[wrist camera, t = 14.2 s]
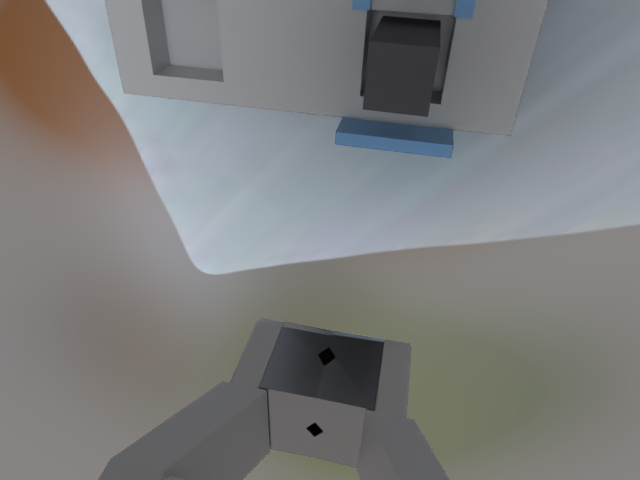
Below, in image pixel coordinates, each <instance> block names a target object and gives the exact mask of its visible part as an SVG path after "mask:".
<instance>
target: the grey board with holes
mask: <svg viewBox="0 0 640 480" xmlns="http://www.w3.org/2000/svg"><path fill="white" fill-rule="evenodd" d="M548 1H549V0H105V4H106V9H107V14H108V19H109V24H110V28H111V33H112V38H113V43H114V48H115V53H116V58H117V63H118V68H119V73H120V77H121V82H122V87H123V92H124V93H125V94H134V95H143V96H152V97H162V98H171V99H180V100H189V101H198V102H207V103H216V104H225V105H234V106H243V107H252V108H261V109H270V110H279V111H288V112H298V113H307V114H316V115H325V116H334V117H343V118H342V120H341V122H340V124H339V126H338V128H337V131H336V137H335V144H337V145H345V146H353V147H362V148H370V149H379V150H387V151H395V152H404V153H412V154H421V155H429V156H437V157H446V158H451V154H452V149H453V130H461V131H470V132H479V133H488V134H497V135H506V136H511V132H512V129H513V125H514V121H515V118H516V114H517V111H518V107H519V104H520V100H521V97H522V93H523V89H524V86H525V82H526V79H527V75H528V72H529V68H530V65H531V61H532V57H533V54H534V50H535V47H536V43H537V40H538V36H539V33H540V29H541V26H542V22H543V18H544V15H545V11H546V8H547V4H548ZM383 16H394V17H405V18H417V19H429V20H441V35H440V52H439V58H438V64H437V69H436V75H435V80H434V86H433V91H432V97H431V103H430V108H429V114H428V117H423V116H415V115H406V114H397V113H388V112H380V111H371V110H363V99H364V89H365V78H366V68H367V58H368V47H369V40H370V39H371V37H372V35H373V33H374V31H375V29H376V28H377V26H378V24H379V22H380V20H381V18H382V17H383Z"/></svg>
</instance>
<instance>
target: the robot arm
mask: <svg viewBox="0 0 640 480" xmlns="http://www.w3.org/2000/svg"><path fill="white" fill-rule="evenodd" d="M410 362H411V345H410V344H408V343H403V342H397V341H391V340H384V339H381V338H375V337H368V336H363V335H357V334H351V333H344V332H339V331H330V330H325V329H320V328H315V327H310V326H305V325H300V324H295V323H290V322H284V321H279V320H273V319H268V318H263V317H261V318H260V319H259V320H258V321H257V322H256V324H255V327H254V329H253V331H252V333H251V336H250V338H249V340H248V342H247V345H246V347H245V349H244V352H243V354H242V356H241V358H240V361H239V363H238V365H237V367H236V370H235V372H234V374H233V376H232V379H231V381H230V382H224V381H222V382H221V383H219V384H218V385H216V386H215V387H213V388H212V389H210V390H209V391H208V392H206V393H205V394H203V395H202V396H200V397H199V398H198V399H196V400H195V401H193V402H192V403H190V404H189V405H187V406H186V407H185V408H183V409H182V410H180V411H179V412H177V413H176V414H175V415H173V416H172V417H170V418H169V419H167V420H166V421H164V422H163V423H162V424H160V425H159V426H157V427H156V428H154V429H153V430H152V431H150V432H149V433H147V434H146V435H144V436H143V437H141V438H140V439H139V440H137V441H136V442H134V443H133V444H131V445H130V446H129V447H127V448H126V449H124V450H123V451H121V452H120V453H119V454H117V455H116V456H114V457H113V458H111V459H110V461H109V462H108V464H107V466H106V467H105V469H104V471H103V472H102V474H101V476H100V477H99V479H98V480H243V478H244V477H246V475H248V474H249V473H250V471H252V470H253V469H254V468H255V467H256V465H258V463H259V462H260V461H261V460H262V459H263V458H264V457H265V456H266V455H267V454H268V453H269V452H270V449H273V450H278V451H283V452H288V453H294V454H299V455H304V456H310V457H315V458H318V459H323V460H327V461H331V462H335V463H339V464H343V465H347V466H351V467H355V468H357V472H358V474H359V477H360V480H449V478H448V476H447V474H446V473H445V471H444V469H443V468H442V466H441V464H440V462H439V461H438V459H437V457H436V455H435V454H434V452H433V450H432V449H431V447H430V445H429V443H428V442H427V440H426V438H425V436H424V435H423V433H422V431H421V430H420V428H419V426H418V424H417V423H416V421H415V420H414V419H409V418H407V406H408V391H409V377H410Z"/></svg>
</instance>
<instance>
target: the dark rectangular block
mask: <svg viewBox="0 0 640 480" xmlns="http://www.w3.org/2000/svg"><path fill="white" fill-rule="evenodd" d="M440 35H441V20H429V19H417V18H405V17H394V16H383V17H382V18H381V20H380V22H379V24H378V26H377V28H376V29H375V31H374V33H373V35H372V37H371V39H370V40H369V47H368V58H367V68H366V78H365V89H364V99H363V110H371V111H380V112H388V113H397V114H406V115H415V116H423V117H428V114H429V108H430V103H431V97H432V91H433V86H434V80H435V75H436V69H437V64H438V58H439V52H440Z"/></svg>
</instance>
